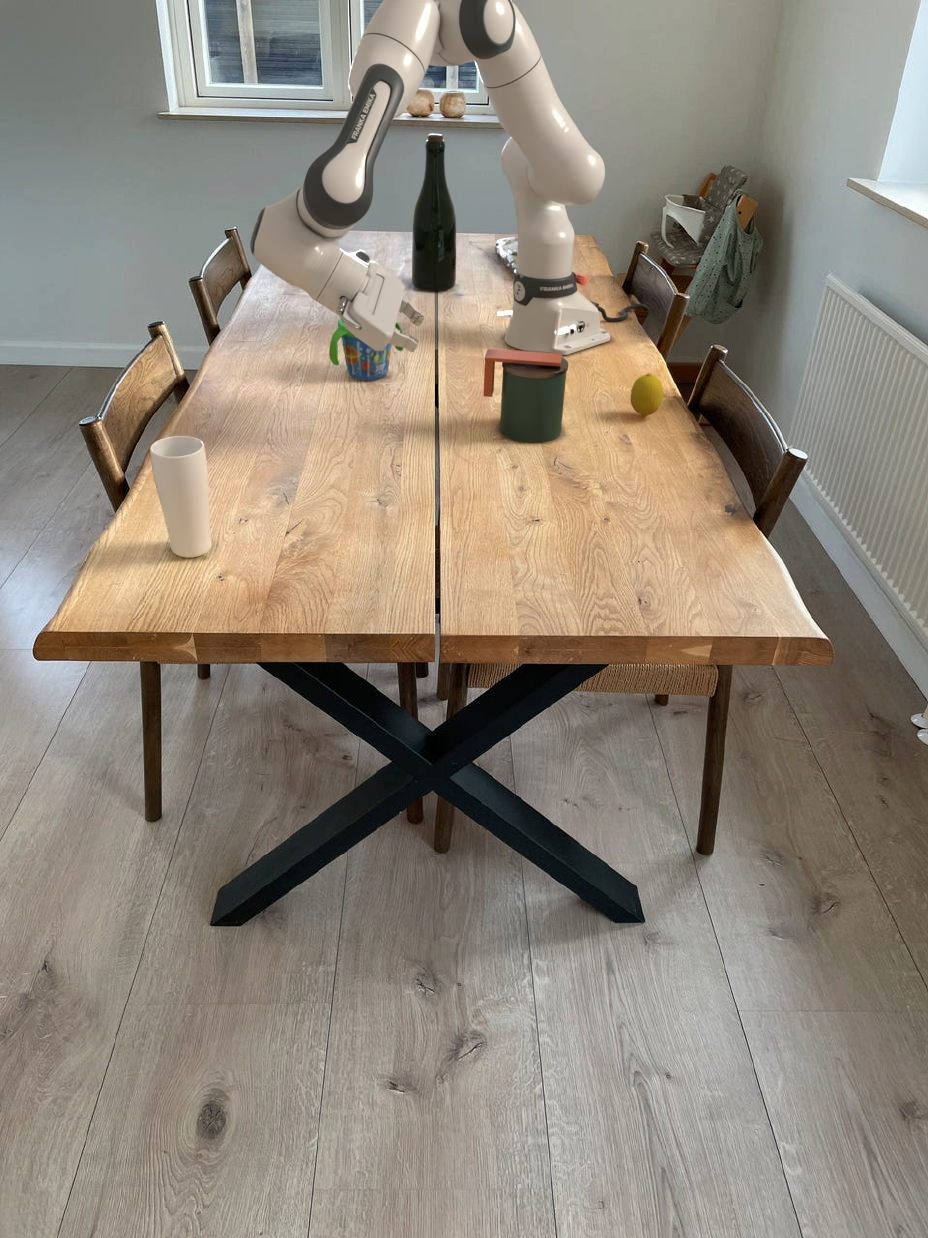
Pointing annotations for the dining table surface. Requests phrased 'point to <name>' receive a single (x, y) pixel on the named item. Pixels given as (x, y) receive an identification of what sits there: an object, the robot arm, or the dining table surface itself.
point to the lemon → (646, 395)
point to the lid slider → (514, 357)
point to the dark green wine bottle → (434, 225)
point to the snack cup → (361, 355)
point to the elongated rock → (508, 252)
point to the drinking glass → (183, 493)
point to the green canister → (532, 401)
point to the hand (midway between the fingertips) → (419, 333)
